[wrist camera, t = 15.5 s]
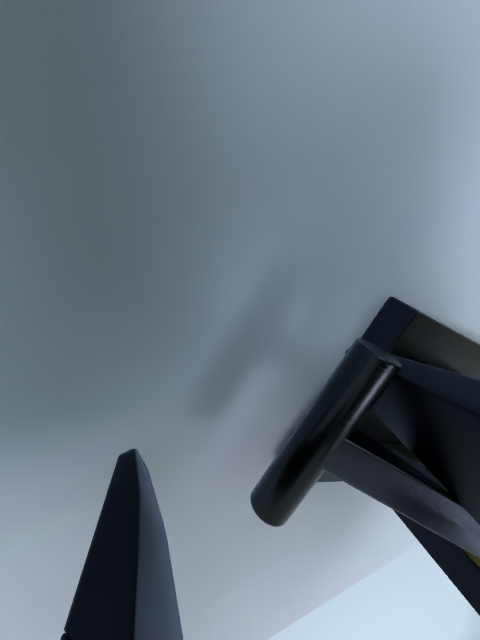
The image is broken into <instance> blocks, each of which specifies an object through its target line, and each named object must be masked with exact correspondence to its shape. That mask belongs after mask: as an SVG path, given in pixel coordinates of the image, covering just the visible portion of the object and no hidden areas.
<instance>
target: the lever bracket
mask: <svg viewBox="0 0 480 640" xmlns="http://www.w3.org/2000/svg"><path fill="white" fill-rule="evenodd" d="M362 339H365V340H367V341H369V342H371V343H373V344H375V345H377V346H378V347H380V348H382V349H383V350H385V351H386V352H388V353H389V354H392V355H396V356H399V357H402V358H406V359H409V360H413V361H416V362H420V363H423V364H427V365H430V366H433V367H437V368H440V369H444V370H447V371H451V372H454V373H458V374H461V375H464V376H468V377H471V378H475V379H478V380H480V345H479V344H478V343H476V342H474V341H472V340H470V339H469V338H467V337H465V336H463V335H461V334H460V333H458V332H456V331H454V330H452V329H451V328H449V327H447V326H445V325H443V324H442V323H440V322H438V321H436V320H434V319H433V318H431V317H429V316H427V315H425V314H424V313H422V312H420V311H418V310H416V309H415V308H413V307H411V306H409V305H407V304H405V303H404V302H402V301H400V300H398V299H396V298H395V297H390V298H389V300H388V301H387V303H386V304H385V305H384V307H383V308H382V310H381V311H380V313H379V314H378V316H377V317H376V318H375V320H374V321H373V323H372V324H371V326H370V327H369V329H368V330H367V332H366V333H365V334H364V336H363V337H362ZM357 429H359V430H361V431H362V432H364V433H366V434H368V435H370V436H371V437H373V438H375V439H377V440H378V441H380V442H382V443H384V444H386V445H387V446H389V447H391V448H393V449H394V450H396V451H398V452H400V453H402V454H403V455H405V456H407V457H409V458H411V459H412V460H414V461H416V462H418V463H419V464H421V465H423V464H422V463H421V462H420V461H419V460H418V459H417V458H416V457H415V455H414V454H413V453H412V452H411V451H410V450H409V449H408V448H407V447H406V446H405V445H404V444H403V443H402V442H401V441H400V439H399V438H398V437H397V436H396V435H395V434H394V433H393V432H392V431H391V430H390V429H389V428H388V427H387V426H386V424H385V423H384V422H383V421H382V420H381V419H380V418H379V417H378V416H377V414H376V413H375V412H374V411H373V409H371V410H370V411H369V413H368V414H367V415H366V417H365V418H364V419H363V421H362V422H361V423H360V425H359V426H358V427H357ZM423 466H424V465H423ZM335 481H342V480H340V479H339V478H337V477H335V476H333V475H331V474H330V473H328V472H326V471H324V472H323V474H322V475H321V476H320V478H319V479H318V480H317V482H335ZM394 512H395V513H396V514H397V515H398V516H399V518H400V519H401V520H402V521H403V523H404V524H405V525H406V526H407V527H408V529H409V530H410V531H411V532H412V534H413V535H414V536H415V537H416V538H417V540H418V541H419V542H420V543H421V544H422V546H423V547H424V548H425V549H426V551H427V552H428V553H429V554H430V556H431V557H432V558H433V559H434V560H435V562H436V563H437V564H438V565H439V566H440V568H441V569H442V570H443V571H444V573H445V574H446V575H447V576H448V578H449V579H450V580H451V581H452V582H453V584H454V585H455V586H456V587H457V588H458V590H459V591H460V592H461V593H462V595H463V596H464V597H465V598H466V600H467V601H468V602H469V603H470V604H471V606H472V607H473V608H474V609H475V611H476V612H477V613H478V614H479V615H480V558H478V557H477V556H475V555H473V554H471V553H470V552H468V551H466V550H464V549H462V548H461V547H459V546H457V545H455V544H454V543H452V542H450V541H448V540H447V539H445V538H443V537H441V536H439V535H438V534H436V533H434V532H432V531H431V530H429V529H427V528H425V527H423V526H422V525H420V524H418V523H416V522H415V521H413V520H411V519H409V518H408V517H406V516H404V515H402V514H400V513H399V512H397V511H395V510H394Z"/></svg>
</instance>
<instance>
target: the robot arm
mask: <svg viewBox="0 0 480 640" xmlns="http://www.w3.org/2000/svg"><path fill="white" fill-rule="evenodd" d="M348 351H349V349H348V350H347V351H346V353H347V352H348ZM346 353H345V355H346ZM391 355H392V354H391ZM392 356H393V357H395V358H396V359H397V360H398V361H399V362H400V363H401V364H402V369H401V370H400V371H399V373H398V374H397V375H396V377H395V378H394V379H393V381H392V382H391V383H390V385H389V386H388V387H387V389H386V390H385V391H384V393H383V394H382V395H381V397H380V398H379V399H378V401H377V402H376V403H375V405H374V406H373V407H372V409H373V411H374V412H375V413H376V414H377V416H378V417H379V418H380V419H381V420H382V421H383V422H384V423H385V424H386V426H387V427H388V428H389V429H390V430H391V431H392V432H393V433H394V434H395V435H396V436H397V437H398V438H399V439H400V441H401V442H402V443H403V444H404V445H405V446H406V447H407V448H408V449H409V450H410V451H411V452H412V453H413V454H414V455H415V457H416V458H417V459H418V460H419V461H420V462H421V463H422V464H423V465H424V466H425V467H426V468H427V469H428V470H429V471H430V473H431V474H432V475H433V476H434V477H435V478H436V479H437V480H438V481H439V482H440V483H441V484H442V485H443V486H444V488H445V489H446V490H447V491H448V492H449V493H450V494H451V495H452V496H453V497H454V498H455V499H456V500H457V501H458V502H459V504H460V505H461V506H462V507H463V508H464V509H465V510H466V511H467V512H468V513H469V514H470V515H471V516H472V517H473V519H474V520H475V521H476V522H477V523H478V524H479V525H480V380H478V379H475V378H471V377H468V376H464V375H461V374H458V373H454V372H451V371H447V370H444V369H440V368H437V367H433V366H430V365H427V364H423V363H420V362H416V361H413V360H409V359H406V358H402V357H399V356H396V355H392ZM64 631H65V632H66V633H64V634H63V635H62V637H61V640H183V635H182V629H181V623H180V616H179V610H178V604H177V598H176V591H175V585H174V579H173V573H172V567H171V560H170V554H169V548H168V542H167V537H166V531H165V527H164V523H163V520H162V516H161V513H160V509H159V506H158V502H157V499H156V495H155V492H154V488H153V485H152V481H151V478H150V474H149V471H148V469H147V466H146V464H145V463H144V461H143V459H142V458H141V456H140V454H139V453H138V451H137V450H136V449H131V450H129V451H127V452H124V453H122V454H121V455H120V456H119V457H118V460H117V463H116V466H115V469H114V472H113V476H112V479H111V482H110V485H109V488H108V491H107V495H106V498H105V501H104V504H103V507H102V510H101V514H100V517H99V520H98V523H97V526H96V529H95V533H94V536H93V539H92V542H91V545H90V548H89V552H88V555H87V558H86V561H85V564H84V567H83V571H82V574H81V577H80V580H79V583H78V587H77V590H76V593H75V596H74V599H73V602H72V606H71V609H70V612H69V615H68V618H67V621H66V625H65V628H64Z"/></svg>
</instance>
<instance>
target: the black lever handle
mask: <svg viewBox="0 0 480 640" xmlns="http://www.w3.org/2000/svg"><path fill="white" fill-rule="evenodd" d="M401 369H402V364H401V363H400V362H399V361H398V360H397V359H396V358H395V357H393V356H392V355H391V354H389V353H388V352H386V351H385V350H383V349H382V348H380V347H378V346H377V345H375V344H373V343H371V342H369V341H367V340H365V339H361V338H358V339H356V340H355V342H354V343H353V345H352V346H351V348H350V349H349V351H348V352H347V353H346V355H345V356H344V358H343V359H342V361H341V362H340V364H339V365H338V367H337V368H336V370H335V371H334V373H333V374H332V375H331V377H330V378H329V380H328V381H327V383H326V384H325V386H324V387H323V389H322V390H321V392H320V393H319V394H318V396H317V397H316V399H315V400H314V402H313V403H312V405H311V406H310V408H309V409H308V411H307V412H306V413H305V415H304V416H303V418H302V419H301V421H300V422H299V424H298V425H297V427H296V428H295V430H294V431H293V432H292V434H291V435H290V437H289V438H288V440H287V441H286V443H285V444H284V446H283V447H282V449H281V450H280V451H279V453H278V454H277V456H276V457H275V459H274V460H273V462H272V463H271V465H270V466H269V468H268V469H267V471H266V472H265V473H264V475H263V476H262V478H261V479H260V481H259V482H258V484H257V485H256V487H255V488H254V490H253V491H252V493H251V505H252V507H253V510H254V511H255V513H256V514H257V516H258V517H259V518H260V519H261V520H262V521H264V522H265V523H267V524H268V525H271V526H275V527H279V526H282V525H284V524H285V523H286V521H287V520H288V519H289V517H290V516H291V515H292V513H293V512H294V511H295V509H296V508H297V507H298V505H299V504H300V503H301V501H302V500H303V499H304V498H305V496H306V495H307V494H308V492H309V491H310V490H311V488H312V487H313V486H314V484H315V483H316V482H317V480H318V479H319V478H320V476H321V475H322V474H323V472H324V471H326V472H328V473H330V474H331V475H333V476H335V477H337V478H339V479H340V480H342V481H344V482H346V483H347V484H349V485H351V486H353V487H354V488H356V489H358V490H360V491H362V492H363V493H365V494H367V495H369V496H370V497H372V498H374V499H376V500H377V501H379V502H381V503H383V504H385V505H386V506H388V507H390V508H392V509H393V510H395V511H397V512H399V513H400V514H402V515H404V516H406V517H408V518H409V519H411V520H413V521H415V522H416V523H418V524H420V525H422V526H423V527H425V528H427V529H429V530H431V531H432V532H434V533H436V534H438V535H439V536H441V537H443V538H445V539H447V540H448V541H450V542H452V543H454V544H455V545H457V546H459V547H461V548H462V549H464V550H466V551H468V552H470V553H471V554H473V555H475V556H477V557H478V558H480V525H479V524H478V523H477V522H476V521H475V520H474V519H473V517H472V516H471V515H470V514H469V513H468V512H467V511H466V510H465V509H464V508H463V507H462V506H461V505H460V504H459V502H458V501H457V500H456V499H455V498H454V497H453V496H452V495H451V494H450V493H449V492H448V491H447V490H446V489H445V488H444V486H443V485H442V484H441V483H440V482H439V481H438V480H437V479H436V478H435V477H434V476H433V475H432V474H431V473H430V471H429V470H428V469H427V468H426V467H425V466H423V465H421V464H419V463H418V462H416V461H414V460H412V459H411V458H409V457H407V456H405V455H403V454H402V453H400V452H398V451H396V450H394V449H393V448H391V447H389V446H387V445H386V444H384V443H382V442H380V441H378V440H377V439H375V438H373V437H371V436H370V435H368V434H366V433H364V432H362V431H361V430H359V429H357V427H358V426H359V425H360V423H361V422H362V421H363V419H364V418H365V417H366V415H367V414H368V413H369V411H370V410H371V409H372V407H373V406H374V405H375V403H376V402H377V401H378V399H379V398H380V397H381V395H382V394H383V393H384V391H385V390H386V389H387V387H388V386H389V385H390V383H391V382H392V381H393V379H394V378H395V377H396V375H397V374H398V373H399V371H400V370H401Z"/></svg>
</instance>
